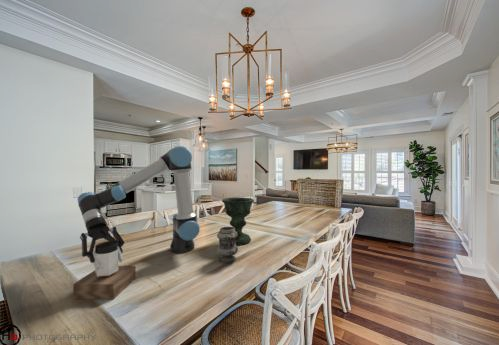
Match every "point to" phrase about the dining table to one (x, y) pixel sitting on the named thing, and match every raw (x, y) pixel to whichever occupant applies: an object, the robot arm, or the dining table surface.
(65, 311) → the dining table surface
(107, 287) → the walnut block
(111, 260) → the jar
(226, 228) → the apothecary jar
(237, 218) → the goblet
